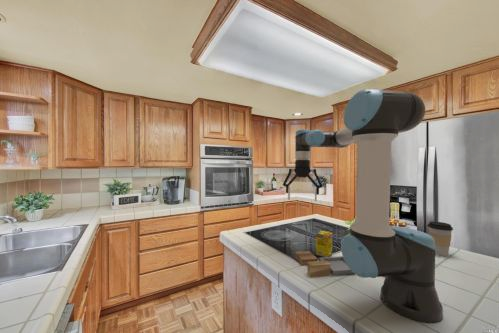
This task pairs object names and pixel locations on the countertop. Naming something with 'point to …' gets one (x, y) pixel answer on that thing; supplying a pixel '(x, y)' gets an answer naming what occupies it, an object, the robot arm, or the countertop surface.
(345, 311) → the countertop surface
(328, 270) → the block
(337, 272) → the tray
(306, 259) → the brown wooden block
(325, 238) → the supplement box
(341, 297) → the countertop surface
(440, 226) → the coffee cup
